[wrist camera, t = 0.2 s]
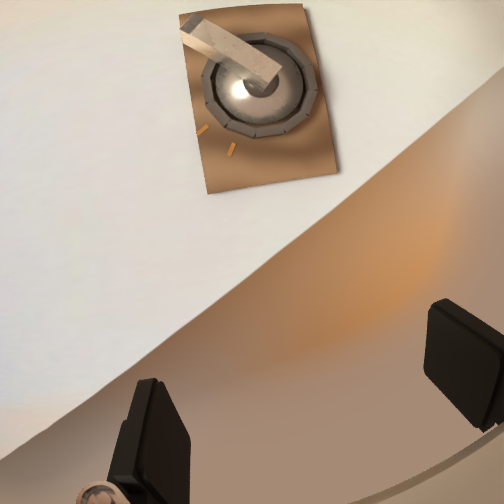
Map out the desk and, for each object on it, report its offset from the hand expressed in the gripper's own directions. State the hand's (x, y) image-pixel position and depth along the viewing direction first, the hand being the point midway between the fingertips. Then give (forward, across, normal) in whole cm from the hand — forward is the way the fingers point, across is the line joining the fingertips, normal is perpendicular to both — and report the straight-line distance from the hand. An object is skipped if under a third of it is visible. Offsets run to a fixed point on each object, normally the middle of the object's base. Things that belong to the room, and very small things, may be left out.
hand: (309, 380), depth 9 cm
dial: (+29, -4, -18) cm, 34 cm away
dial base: (+31, -6, -16) cm, 35 cm away
